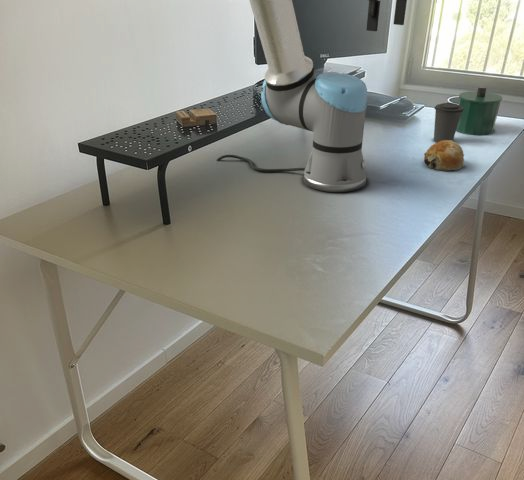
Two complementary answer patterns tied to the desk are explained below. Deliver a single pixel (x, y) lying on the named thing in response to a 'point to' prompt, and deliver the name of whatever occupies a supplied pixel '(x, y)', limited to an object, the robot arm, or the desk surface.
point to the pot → (477, 117)
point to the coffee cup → (446, 121)
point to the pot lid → (480, 96)
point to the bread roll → (444, 156)
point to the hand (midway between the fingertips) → (385, 27)
